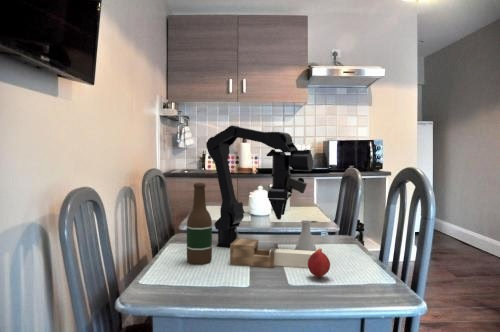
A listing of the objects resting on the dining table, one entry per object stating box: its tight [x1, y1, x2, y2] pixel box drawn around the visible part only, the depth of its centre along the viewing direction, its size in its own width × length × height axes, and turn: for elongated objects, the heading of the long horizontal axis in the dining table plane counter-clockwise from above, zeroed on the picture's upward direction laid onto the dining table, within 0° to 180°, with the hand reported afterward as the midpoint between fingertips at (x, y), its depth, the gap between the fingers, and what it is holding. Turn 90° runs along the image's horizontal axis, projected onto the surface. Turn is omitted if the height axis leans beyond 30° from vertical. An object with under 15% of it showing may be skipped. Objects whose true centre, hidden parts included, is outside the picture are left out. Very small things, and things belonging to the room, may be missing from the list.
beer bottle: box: [186, 182, 213, 266], centre depth 109 cm, size 8×8×24 cm
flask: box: [294, 219, 317, 251], centre depth 124 cm, size 7×7×10 cm
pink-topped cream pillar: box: [269, 247, 317, 269], centre depth 107 cm, size 14×4×4 cm, turn 78°
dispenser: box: [229, 237, 278, 269], centre depth 109 cm, size 13×8×6 cm, turn 78°
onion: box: [307, 247, 331, 279], centre depth 95 cm, size 6×6×8 cm
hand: (280, 217), depth 119 cm, fingers open, 9 cm apart
